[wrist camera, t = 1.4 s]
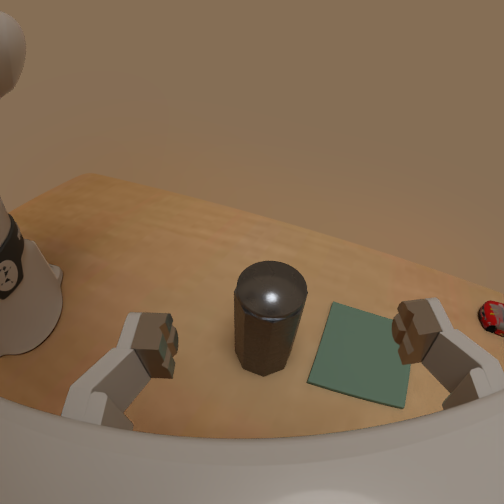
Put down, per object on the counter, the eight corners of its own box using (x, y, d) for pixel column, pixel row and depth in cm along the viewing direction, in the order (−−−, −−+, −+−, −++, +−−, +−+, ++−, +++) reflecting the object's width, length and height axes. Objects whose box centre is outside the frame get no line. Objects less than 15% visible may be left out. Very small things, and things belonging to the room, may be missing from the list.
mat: (306, 382, 32) (307, 381, 32) (332, 303, 40) (333, 301, 40) (402, 409, 29) (404, 407, 29) (412, 328, 37) (414, 326, 37)
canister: (228, 363, 34) (225, 300, 25) (249, 323, 38) (252, 253, 29) (278, 382, 32) (295, 325, 24) (295, 339, 36) (314, 272, 28)
